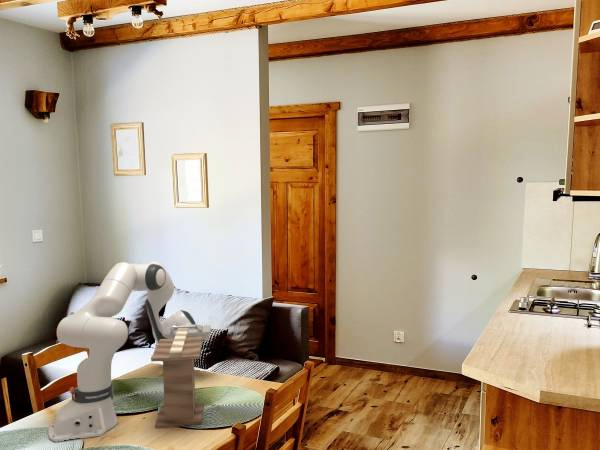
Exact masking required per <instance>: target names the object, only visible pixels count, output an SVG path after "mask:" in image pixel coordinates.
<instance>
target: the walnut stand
mask: <svg viewBox="0 0 600 450" xmlns="http://www.w3.org/2000/svg"><path fill="white" fill-rule="evenodd" d="M173 341H174V338H173V339H160V340H159V342H157V345H156V347H155V349H154V352H153V354H152V356H151V357H150V358H151V362H162V367H163V368H162V373H163V379H162V380H163V402H164V404H163V405H160V407H159V411H158V414H157V417H156V421H155V424H154V429H165V428H167V429H168V428H180V426H181V427H183V426H182V425H195V426H201V425H200V424H203V418H202V417H204V409H205V403H204V402H196V383H195V381H196V380H195V379H196V378H195V375H196V374H195V360H197V359H198V360H200V358H201V350H202V346H203V342H204V341H203V337H193V338H187V339H186V342H185V346H184V349H183V353H182V357H171V358H169V352H170V349H171V347H172V344H173Z"/></svg>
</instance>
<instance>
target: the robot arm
mask: <svg viewBox="0 0 600 450" xmlns="http://www.w3.org/2000/svg"><path fill="white" fill-rule="evenodd" d="M133 291H135V292H136V291H137V292H147V297H146V299H145V300H144V303H145V309H146V312H147V316H148V318H149V322H150V326H151V330H152V335H153V338H154V341H156V342H157V343H158V342H159V340H160V339H173V338H175V336H176V333H177V330H178V328H188V335H187V338H193V337H203V341H202V342H205V341H208V340H209V337H210V336H211V331H212V330H211V329H212V328H211V324H198V323H197V324H196V322H195V319H194V317H193V316H192V314H191V313H190V312H188V311H186V310H183V309H182V310H181V309H180V310H179V311H176V312H175V313H173V314H171V315H170V316H169V317H166V318H165V319H164V320H162V321H161V319H160V315H159V312H160V311H161V309H162V308H163V307H164V306H165V305H166V304H167V303H168V302H169V301H170V300H171V298H172V297H173V295H174V292H175V284H174V282H173V280H172V277H171V276H170V274H169V273H168V271H167V270H166V267H164V265H162V264H161V262H159V261H157V260H152V261H148V262H146V263H141V262H135V263H133V262H132V263H129V262H126V261H122V262H118V263H116V264H115V265H113V266H112V268H111V269H110V270H109V271H108V273H107V274H106V275H105V277H104V279H103V281H102V282H101V283H100V286H99V287H98V288H97V290H96V292H95V294H94V295H93V296H92V297H91V299H90V300H89V301H88V302H87V303H86V304H85V305H84V306H82V307H81V308H80V309H78V310H77V311H76V312H74V313H72V314H70V315H68V316H65V317H63V318H62V320H60V321H59V323H58V325H57V328H56V337H57V340H58V341H59V342H60V343H61V344H63V345H66V346H68V347H69V346H70V347H72V348H83V349H88V357H86V358H84V359H83V360H81V361H80V362H79V364H78V365H77V368H76V378H77V380H76V382H77V387H75V386H71V387H70V388H69V390H68V391H69V393H70V395H71V400H69V401H68V402H67V403H66V404H64V405H63V406H62V407H61V408H60V409H58V412H57V413H56V416H55V420H54V422H52V423H51V425H49V427H48V430H47V436H49V437H48V439H49V438H50V439H51V440H50V439H49V440H50V441H51V442H54V441H55V443H58V441H59V442H65V441H64V440H67V441H70V440H69V439H74V438H81V439H87V438H92V437H100V436H104V434H105V433H106V432H107V431H109V430H111V429H112V428H114V427H115V426H116V425H117V424H118V422H119V420H118V417H117V413H116V411H115V406H114V401H113V399H114V391H113V390H114V386H113V382H112V363H113V358H114V356H115V353H116V352H117V351H118V350H119V349H120V348H122V346H124V345H125V343H126V342H127V340H128V337H129V331H128V330H129V329H128V325H127V324H126V322H125V321H123V320H121V319H117V318H114V317H115V316H117V315H118V314H119V313H121V312H122V311H123V309H124V307H125V305H126V303H127V301H128V299H129V297H130V295H131V293H132V292H133ZM74 440H75V439H74Z"/></svg>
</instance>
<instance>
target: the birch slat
mask: <svg viewBox="0 0 600 450" xmlns="http://www.w3.org/2000/svg"><path fill="white" fill-rule="evenodd" d="M187 335H188V328H178V330H177V333H176V336H175V338H174V341H173V344H172V347H171V349H170V352H169V358H171V357H182V353H183V349H184V346H185V342H186V339H187Z"/></svg>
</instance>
